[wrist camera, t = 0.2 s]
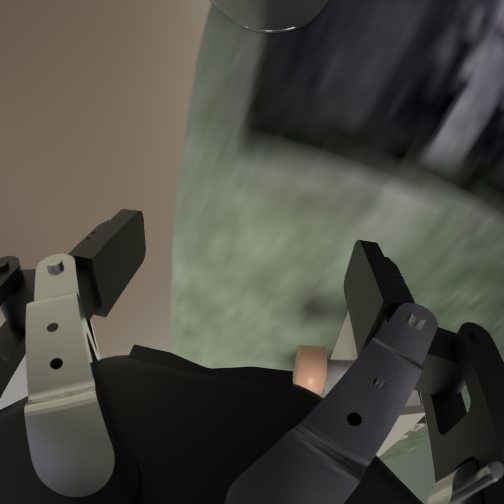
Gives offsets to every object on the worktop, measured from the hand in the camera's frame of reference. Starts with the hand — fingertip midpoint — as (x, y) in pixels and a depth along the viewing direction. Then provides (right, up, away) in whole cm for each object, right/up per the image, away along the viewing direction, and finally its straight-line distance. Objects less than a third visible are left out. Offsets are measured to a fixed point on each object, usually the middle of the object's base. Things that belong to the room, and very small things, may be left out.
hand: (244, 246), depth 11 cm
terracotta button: (+9, -11, +20) cm, 25 cm away
